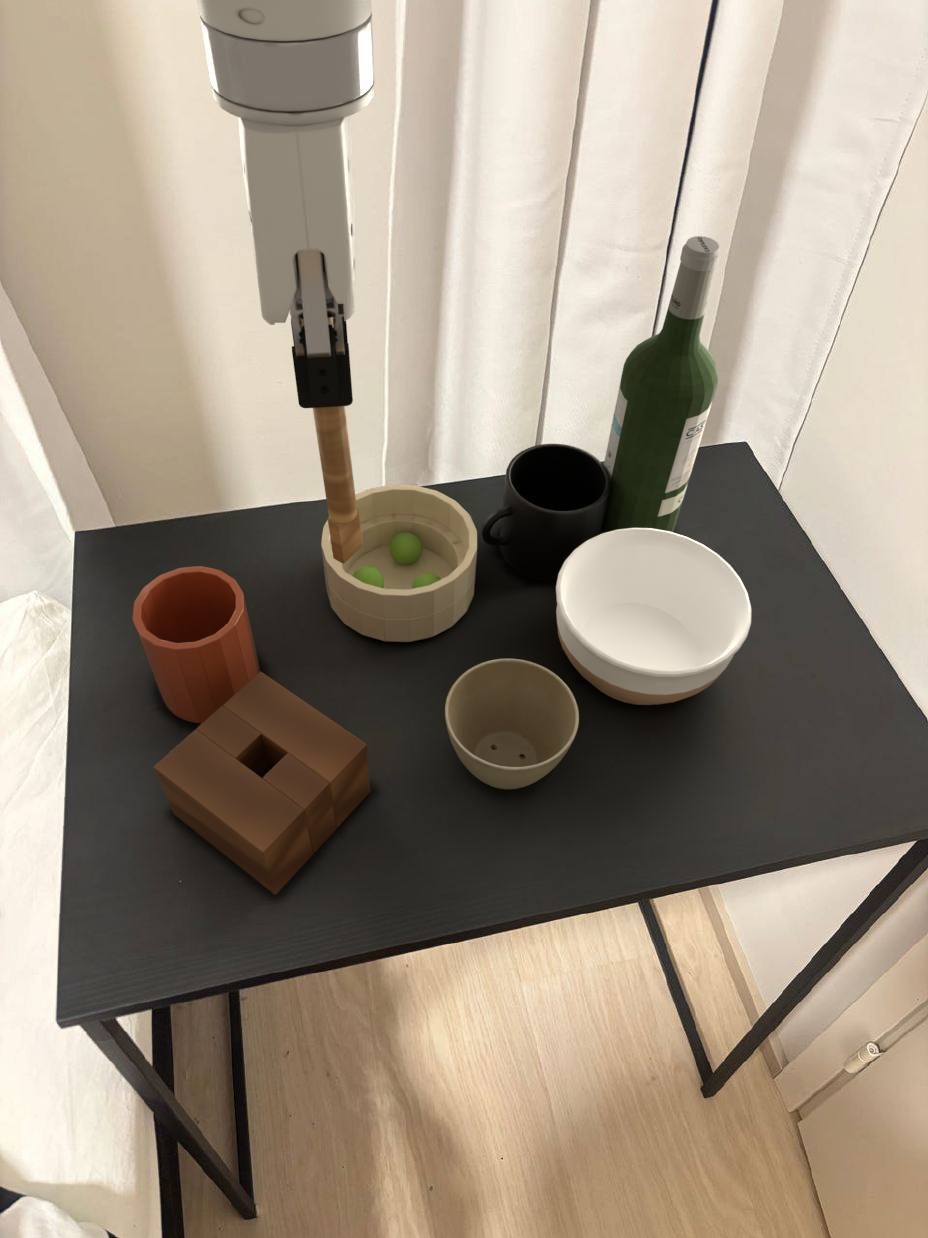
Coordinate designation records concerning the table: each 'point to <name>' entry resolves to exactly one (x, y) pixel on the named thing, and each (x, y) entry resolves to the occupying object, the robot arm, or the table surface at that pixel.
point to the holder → (266, 780)
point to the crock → (196, 639)
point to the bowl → (650, 614)
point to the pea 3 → (425, 580)
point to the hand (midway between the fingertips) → (325, 388)
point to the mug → (549, 508)
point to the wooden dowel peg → (338, 479)
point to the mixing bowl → (405, 565)
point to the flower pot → (510, 721)
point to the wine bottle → (663, 405)
